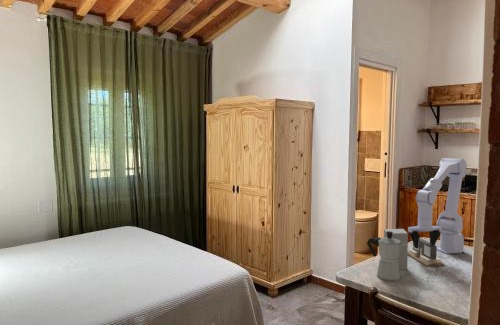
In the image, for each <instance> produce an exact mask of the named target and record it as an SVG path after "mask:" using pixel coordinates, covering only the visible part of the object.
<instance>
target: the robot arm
mask: <svg viewBox="0 0 500 325" xmlns="http://www.w3.org/2000/svg"><path fill="white" fill-rule="evenodd" d="M438 165H439V169H438V170H437V172H436V174H435V176H434V177H433V178H432V177H431V178H430V179H429V180H428V181H427V183H426V184H425V185H424V186H423V188H422V189H420V190H418V191H417V192H416V195H415V200H416V205H417V225H415V226H408V227H407V233H408V235H409V236H410V238H411V241H412V245H413V244H414V247H415V248H418V243H419V238H421V237H420V236H421V234H420V233H419V232H422V233H423V232H424V233H425V232H428V234H429V243H431V244H433V245H435V246H436V243H437V240H438V239H439V240H440V241H439V247H438V246H437V250H438V251H440V252H442V253H444V254H463V253H462V252H465V251H464V246H465V238H464V235H463V234H462V233H461V232H463V229H464V224H463V222H464V221H463V217H462V216H461V215H460V214H459V213H458V208H459V202H460V196H461V188H462V181H463V178H465V177H466V173H467V168H468V167H467V166H468V163H467V162H466V160H465V158H451V157H450V158H448V157H442V158H441V160H440V161H439V164H438ZM447 177H448V178H449V184H448V191H447V196H446V202H445V210H444V211H442V212H441V213H439V215H438V219H437V221H436V225H433V210H434V204H435V203H436V200H437V196H438V193H439V191H440V189H441V188H442V187H443V183H442V182H444V180H445V179H446V178H447ZM439 237H440V238H439Z"/></svg>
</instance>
